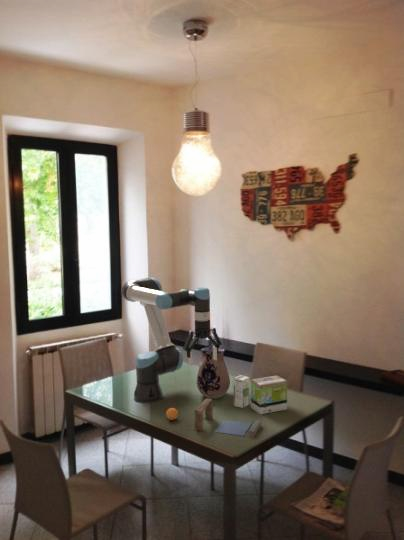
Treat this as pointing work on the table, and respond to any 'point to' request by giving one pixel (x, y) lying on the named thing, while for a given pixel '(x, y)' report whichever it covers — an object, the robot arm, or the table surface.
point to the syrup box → (241, 391)
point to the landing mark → (233, 428)
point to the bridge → (199, 410)
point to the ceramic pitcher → (212, 374)
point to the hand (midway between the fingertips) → (202, 361)
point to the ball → (172, 413)
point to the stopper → (255, 428)
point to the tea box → (268, 394)
